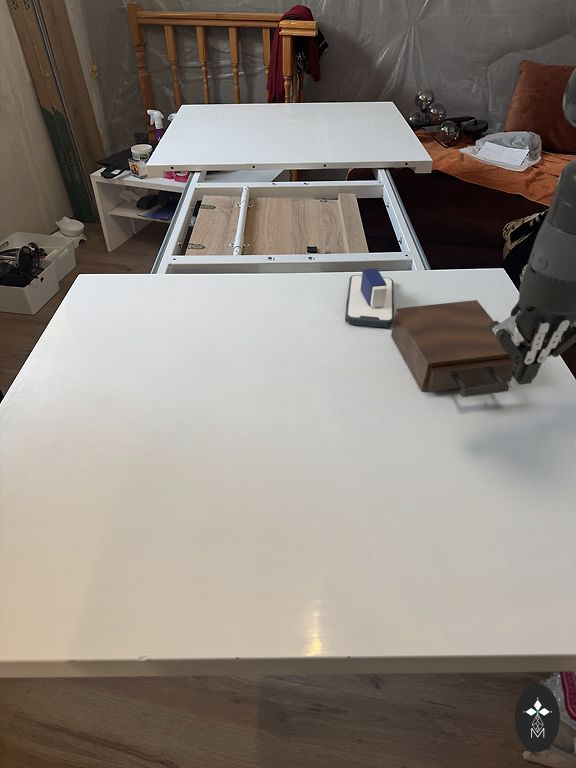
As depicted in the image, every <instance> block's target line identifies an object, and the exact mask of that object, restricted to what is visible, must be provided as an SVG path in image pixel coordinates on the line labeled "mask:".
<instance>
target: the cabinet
mask: <svg viewBox="0 0 576 768" xmlns="http://www.w3.org/2000/svg"><path fill="white" fill-rule="evenodd" d="M493 321H494V319H493V318H492V317H491V316H490V315H489V313H488V312H487V311H486V309H485V307H483V306H482V305H481V303H480V302H479V300H477V299H474V300H464V301H463V300H462V301H453V302H445V303H435V304H424V305H416V306H405V307H396V308H394V320H393V325H392V326H391V332H390V333H391V334H390V337H391V338H392V340H393V342H394V344H395V345H396V348H397V349H398V351H399V353H400V355H401V356H402V358H403V360H404V362H405V364H406V366H407V368H408V370H409V371H410V373H411V375H412V377H413V379H414V381H415V382H416V384H417V386H418V388H419V389H420V391H421V392H429V391H428V389H427V387H426V386H427V382H428V378H429V374H430V370H431V368H432V367H437V366H445V365H454V364H462V363H470V362H478V361H487V360H495V359H508V358H511V357H510V356H509V355H508V353H507V352H506V351H505V350H504V349H503V347H502V346H501V344H500V343H499V341H498V340H497V338H496V337H495V335H494V334H493V332H492V331H491V329H490V328H489V325H490V324H491V323H492V322H493Z"/></svg>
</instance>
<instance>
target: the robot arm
mask: <svg viewBox="0 0 576 768" xmlns="http://www.w3.org/2000/svg"><path fill="white" fill-rule="evenodd" d="M562 110H563V114H564V117H565V120H566V121H567V122H568V123H569V124H570V125H571V126H573V127H574V128H576V67H575V68H574V69H573V71H572V73H571V75H570V77H569V78H568V81H567V84H566V86H565V89H564V93H563V99H562ZM524 270H525V271H524V273H523V274H522V275H523V276H522V279H521V282H520V284H519V290H518V301H517V303H516V304H515V305H514V306H513V308H512V309H511V310H510V316H509V317H507V318H505V319H504V320H502V321H501V322H499V321H498V320H493V322H492V323H491V324H490V325H489V328H490V329H491V331H492V332H493V334H494V335H495V337H496V338H497V340H498V341H499V343H500V344H501V346H502V347H503V349H504V350H505V351H506V352H507V353H508V355H509V356H510V357H511V359H512V360H513V362H514V364H513V367H512V369H511V375H512V379H514V380H515V382H516V383H517V384H518V385H519V386H521V385H522V386H523V385H528V384H532V382H533V380H534V379H535V378H536V377H537V375H538V373H539V371H540V368H541V365H542V363H544V362H546V360H547V359H548V358H549V357H553V358H558V357H559V356H561V355H562V354H563V353H565V351H567V350H568V349H569V348H570V347H571V346H573V345H574V344H575V343H576V158H573V159H571V160H570V161H568V162H567V163H566V164H565V165H564V166H563V168H562V169H561V172H560V174H559V176H558V179H557V181H556V184H555V188H554V191H553V194H552V197H551V200H550V203H549V205H548V208H547V212H546V215H545V218H544V220H543V222H542V224H541V225H540V228H539V230H538V232H537V234H536V236H535V240H534V241H533V246H532V249H531V252H530V255H529V257H528V260H527V263H526V267H525V269H524ZM515 329H517V332H516V331H515ZM515 333H516V336H515ZM515 337H517V342H516V343H515V342H514V341H513V340H514V339H515ZM562 337H563V340H562V341H561V338H562Z"/></svg>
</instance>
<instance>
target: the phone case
mask: <svg viewBox="0 0 576 768" xmlns="http://www.w3.org/2000/svg"><path fill="white" fill-rule="evenodd" d="M382 278H383V279H384V281H385V282H386V288H387V291H386V297H385V304H384V306H380V307H371V306H369V305H368V303H367V301H366V299H365V297H364V296H363V294H362V292H361V290H360V289H361V280H362V274H354V275H351V276H350V277H349V281H348V291H347V298H346V302H345V303H346V304H345V307H346V308H345V315H344V316H345V319H344V320H345V322H346V323H347V324H350V325H357V326H358V325H359V326H360V325H361V326H368V327H369V326H370V327H379V328H381V327H383V328H390V327H393V321H394V315H395V303H394V301H395V300H394V280H393V279H392V278H391V277H386V276H382Z"/></svg>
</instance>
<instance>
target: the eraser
mask: <svg viewBox="0 0 576 768" xmlns="http://www.w3.org/2000/svg"><path fill="white" fill-rule="evenodd" d="M361 275H362V280H361V289H360V290H361V292H362V294H363V296H364V297H365V299H366V301H367V303H368V305H369V306H371V307H380V306H384V304H385V297H386V291H387V288H386V282H385V281H384V279H383V278H382V277H383V276H382V274H381V272H380V271H379V269H378V268H376V267H375V268H367V269H366V268H365V269H362V273H361Z"/></svg>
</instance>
